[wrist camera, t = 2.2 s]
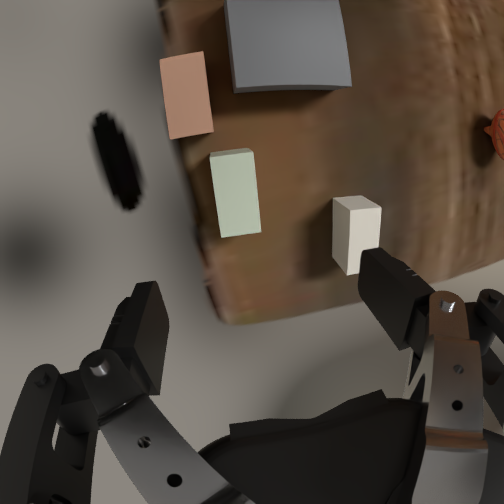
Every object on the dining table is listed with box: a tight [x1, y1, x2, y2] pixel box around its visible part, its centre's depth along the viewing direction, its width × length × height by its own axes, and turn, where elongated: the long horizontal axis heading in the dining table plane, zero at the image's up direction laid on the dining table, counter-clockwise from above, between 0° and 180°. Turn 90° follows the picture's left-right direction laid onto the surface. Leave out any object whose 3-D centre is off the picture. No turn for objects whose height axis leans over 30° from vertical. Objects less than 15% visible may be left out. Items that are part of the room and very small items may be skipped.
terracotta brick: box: [160, 51, 214, 140], centre depth 21 cm, size 7×4×4 cm, turn 7°
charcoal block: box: [224, 0, 352, 94], centre depth 19 cm, size 10×10×4 cm
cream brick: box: [332, 195, 381, 275], centre depth 28 cm, size 7×4×4 cm, turn 6°
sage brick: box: [210, 148, 261, 238], centre depth 25 cm, size 7×4×4 cm, turn 6°
